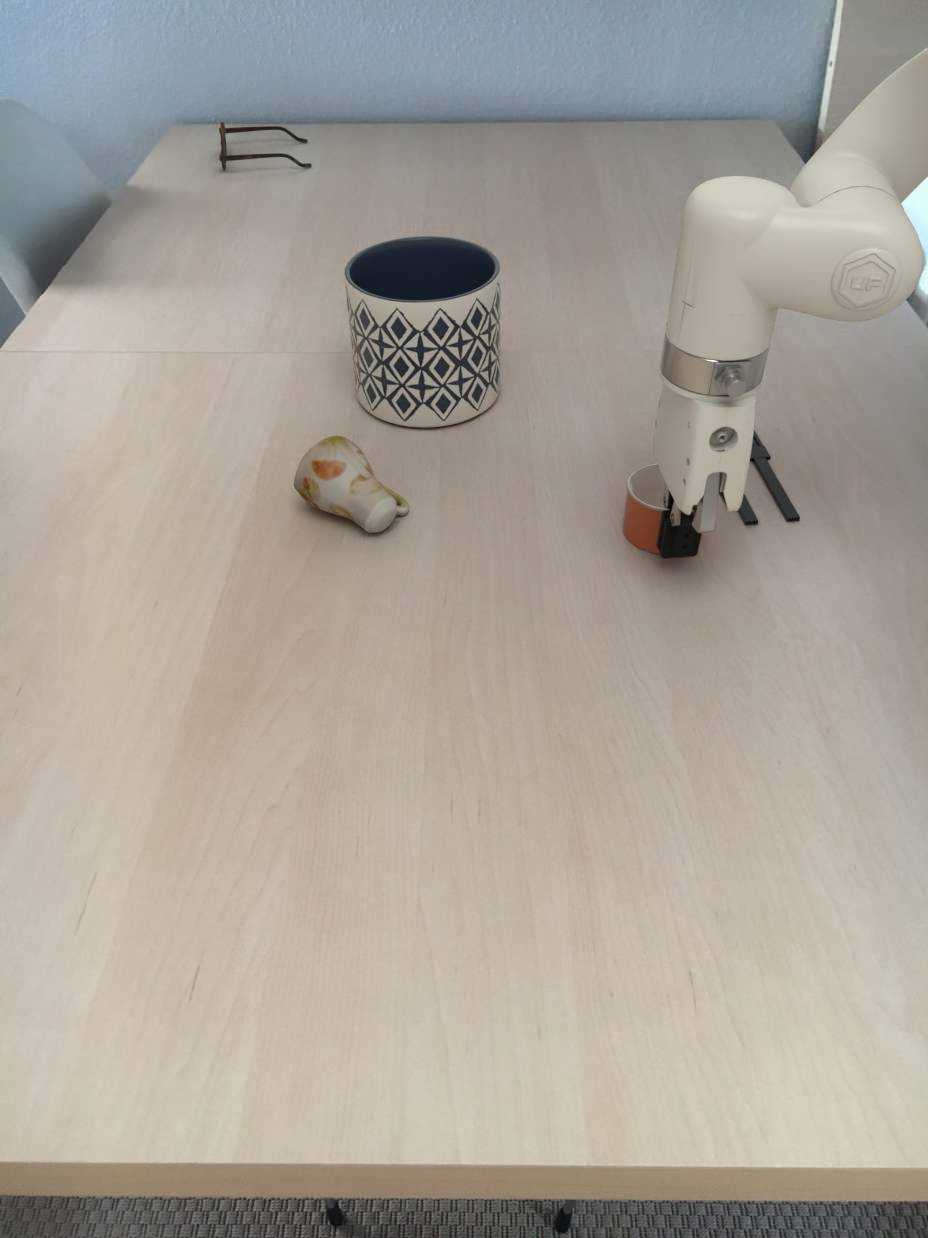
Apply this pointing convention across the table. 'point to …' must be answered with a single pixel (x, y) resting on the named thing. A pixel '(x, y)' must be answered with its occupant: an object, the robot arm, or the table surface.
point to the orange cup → (644, 507)
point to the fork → (772, 479)
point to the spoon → (747, 512)
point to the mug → (347, 485)
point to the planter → (425, 329)
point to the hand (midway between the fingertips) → (676, 551)
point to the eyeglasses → (224, 157)
